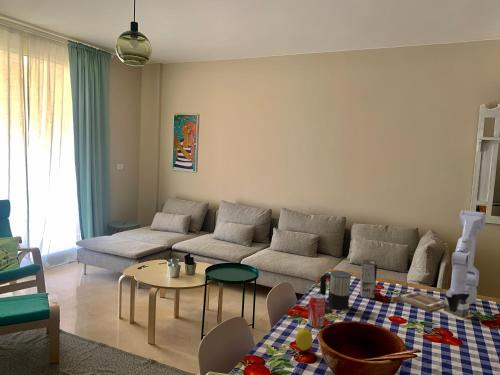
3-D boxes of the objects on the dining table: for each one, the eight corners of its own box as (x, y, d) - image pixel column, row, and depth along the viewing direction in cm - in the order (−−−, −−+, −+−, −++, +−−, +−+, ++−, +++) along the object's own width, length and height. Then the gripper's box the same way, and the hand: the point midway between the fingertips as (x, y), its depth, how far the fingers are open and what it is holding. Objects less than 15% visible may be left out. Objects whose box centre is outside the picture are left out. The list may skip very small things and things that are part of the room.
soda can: (314, 329, 151) (316, 299, 150) (304, 323, 157) (306, 293, 156) (327, 327, 154) (329, 297, 153) (317, 320, 160) (319, 291, 159)
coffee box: (375, 298, 188) (377, 265, 187) (360, 296, 190) (363, 263, 188) (373, 292, 197) (375, 260, 196) (359, 290, 199) (362, 259, 197)
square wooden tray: (416, 295, 196) (416, 289, 196) (451, 308, 181) (452, 301, 181) (393, 301, 186) (393, 295, 186) (429, 315, 171) (429, 308, 171)
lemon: (293, 346, 137) (295, 324, 137) (309, 346, 138) (310, 324, 137) (296, 354, 132) (298, 331, 131) (313, 354, 132) (314, 331, 132)
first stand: (449, 309, 179) (450, 306, 179) (474, 318, 170) (475, 315, 170) (436, 314, 173) (436, 310, 173) (461, 323, 164) (461, 320, 164)
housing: (449, 308, 176) (451, 296, 176) (468, 315, 170) (469, 302, 169) (443, 310, 173) (444, 298, 173) (461, 317, 167) (463, 304, 166)
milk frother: (350, 304, 180) (352, 272, 178) (346, 317, 165) (349, 282, 163) (318, 299, 184) (320, 267, 183) (312, 311, 169) (314, 277, 168)
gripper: (459, 284, 163) (455, 316, 164) (477, 279, 171) (474, 310, 172) (442, 279, 169) (439, 310, 170) (460, 275, 177) (457, 304, 178)
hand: (455, 310), depth 171 cm, fingers closed on housing, 5 cm apart
